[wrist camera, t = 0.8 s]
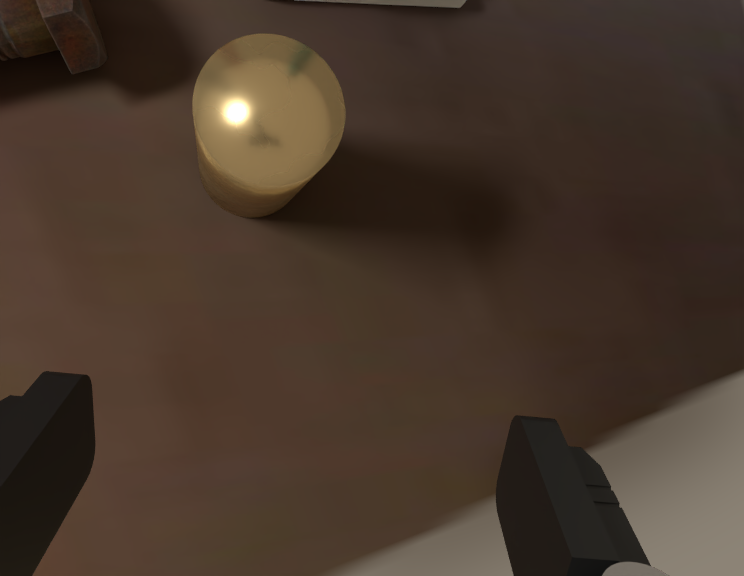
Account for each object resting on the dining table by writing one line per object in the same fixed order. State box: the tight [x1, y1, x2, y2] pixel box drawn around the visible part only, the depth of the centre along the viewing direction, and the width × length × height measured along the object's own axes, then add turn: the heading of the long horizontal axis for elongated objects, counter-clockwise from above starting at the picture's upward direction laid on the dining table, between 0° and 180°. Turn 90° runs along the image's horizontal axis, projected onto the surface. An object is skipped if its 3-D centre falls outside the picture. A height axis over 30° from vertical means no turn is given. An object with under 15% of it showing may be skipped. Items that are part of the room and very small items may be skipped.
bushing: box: [193, 34, 345, 218], centre depth 26 cm, size 5×5×11 cm
